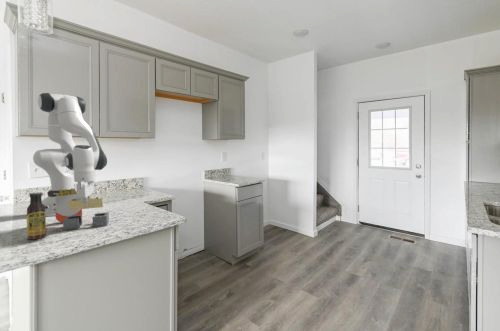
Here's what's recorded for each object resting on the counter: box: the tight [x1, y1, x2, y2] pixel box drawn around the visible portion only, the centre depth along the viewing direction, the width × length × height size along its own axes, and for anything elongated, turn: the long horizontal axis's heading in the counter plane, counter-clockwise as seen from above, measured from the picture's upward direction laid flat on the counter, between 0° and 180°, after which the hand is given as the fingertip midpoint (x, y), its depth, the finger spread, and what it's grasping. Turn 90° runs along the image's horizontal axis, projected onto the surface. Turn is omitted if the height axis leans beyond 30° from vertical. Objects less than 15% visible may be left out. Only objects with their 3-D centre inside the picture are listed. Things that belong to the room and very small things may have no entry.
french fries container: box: [55, 188, 83, 224], centre depth 130 cm, size 5×11×18 cm, turn 136°
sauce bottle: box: [26, 192, 47, 240], centre depth 107 cm, size 6×6×20 cm
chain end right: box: [92, 212, 110, 228], centre depth 126 cm, size 6×8×5 cm
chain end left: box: [62, 214, 83, 231], centre depth 121 cm, size 6×8×5 cm
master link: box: [69, 196, 104, 210], centre depth 123 cm, size 14×3×5 cm, turn 113°
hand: (86, 204), depth 123 cm, fingers closed on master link, 3 cm apart
